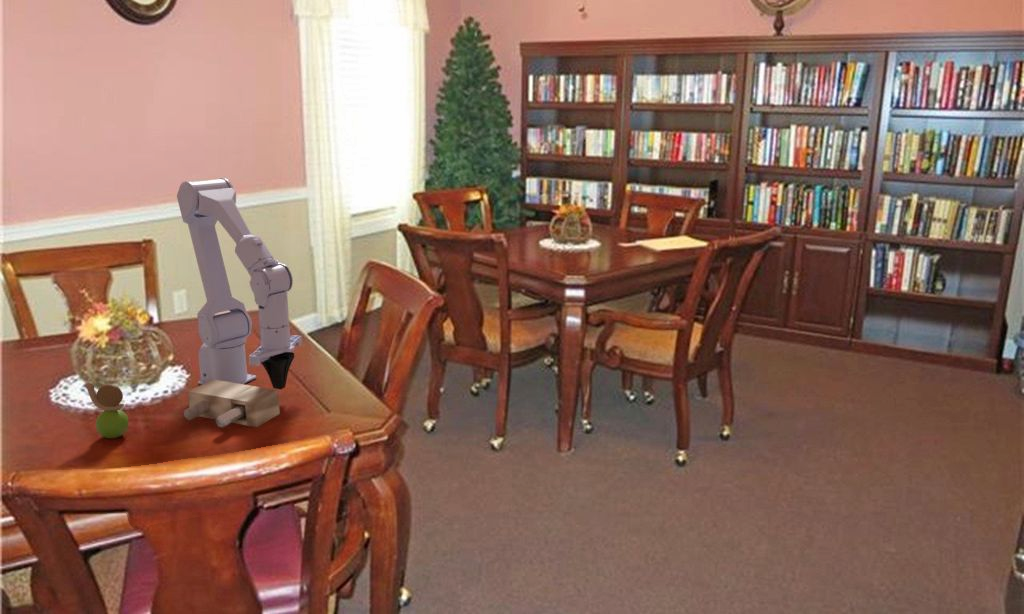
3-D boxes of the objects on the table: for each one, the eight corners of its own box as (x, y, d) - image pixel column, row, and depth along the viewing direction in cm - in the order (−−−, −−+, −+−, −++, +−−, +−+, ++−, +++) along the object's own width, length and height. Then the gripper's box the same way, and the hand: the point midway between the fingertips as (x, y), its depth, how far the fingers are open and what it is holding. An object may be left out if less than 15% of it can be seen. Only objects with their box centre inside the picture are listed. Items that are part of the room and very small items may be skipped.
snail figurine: (99, 431, 146) (91, 371, 143) (135, 430, 147) (127, 370, 143) (86, 443, 141) (77, 381, 138) (123, 442, 141) (115, 381, 138)
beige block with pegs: (173, 423, 150) (170, 399, 148) (218, 400, 161) (216, 377, 160) (240, 436, 144) (238, 411, 143) (282, 411, 155) (281, 388, 154)
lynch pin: (212, 430, 146) (210, 410, 145) (258, 405, 157) (256, 386, 156) (230, 433, 144) (228, 413, 143) (274, 408, 156) (272, 389, 155)
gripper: (267, 337, 149) (272, 403, 152) (312, 317, 162) (316, 378, 165) (237, 332, 151) (243, 397, 155) (284, 313, 164) (288, 374, 168)
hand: (279, 387), depth 160 cm, fingers closed
